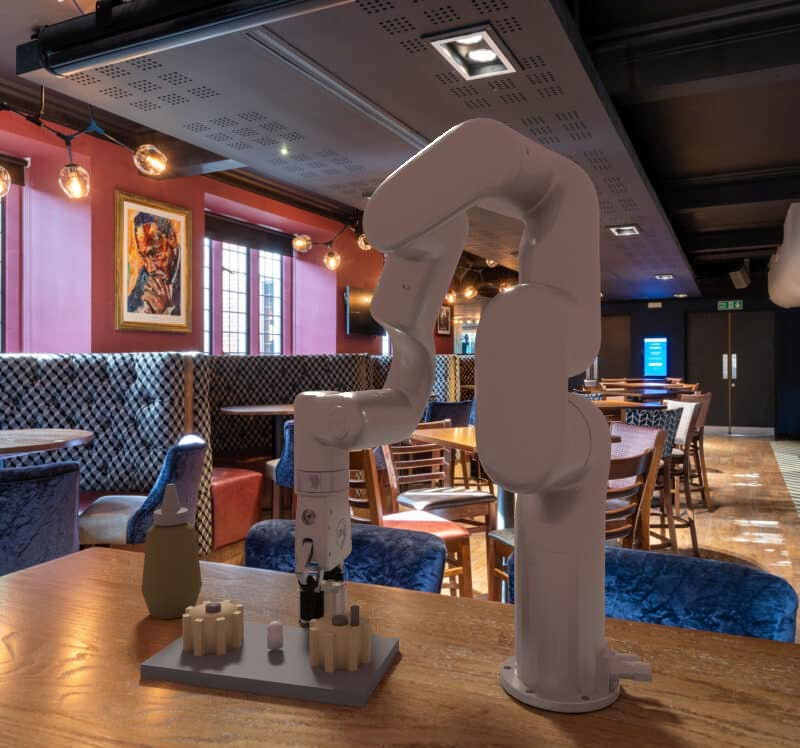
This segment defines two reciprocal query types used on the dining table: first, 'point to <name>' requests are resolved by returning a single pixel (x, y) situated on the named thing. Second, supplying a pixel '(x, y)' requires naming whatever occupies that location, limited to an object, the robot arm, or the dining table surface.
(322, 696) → the gear board
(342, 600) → the cream idler gear
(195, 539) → the squeeze bottle
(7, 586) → the dining table surface
